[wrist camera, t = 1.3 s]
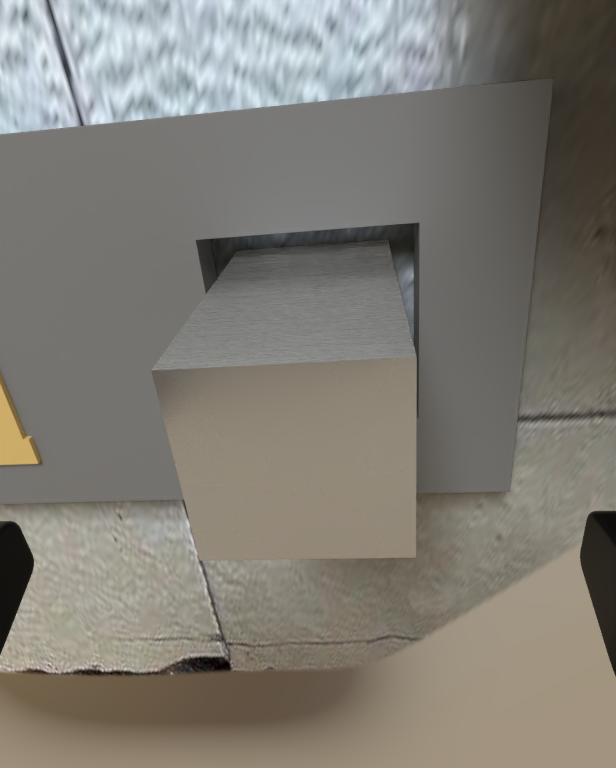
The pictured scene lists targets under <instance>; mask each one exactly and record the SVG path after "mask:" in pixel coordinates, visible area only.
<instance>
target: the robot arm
mask: <svg viewBox="0 0 616 768" xmlns="http://www.w3.org/2000/svg"><path fill="white" fill-rule="evenodd" d="M580 559H581V566H582V570H583V573H584V577H585V580H586V584H587V587H588V590H589V593H590V597H591V600H592V603H593V607H594V610H595V613H596V616H597V620H598V623H599V626H600V629H601V633H602V636H603V639H604V643H605V646H606V649H607V653H608V656H609V659H610V662H611V664H612V668H613V671H614V673H615V676H616V511H594V512H591V513H590V514H589V515H588V518H587V521H586V526H585V531H584V536H583V541H582V546H581V551H580ZM33 567H34V559H33V555H32V553H31V550H30V548H29V546H28V544H27V542H26V539H25V537H24V535H23V533H22V531H21V528H20V527H19V525H18V524H16V523H15V522H12V521H0V654H1V652H2V649H3V647H4V644H5V642H6V639H7V637H8V634H9V631H10V629H11V626H12V624H13V621H14V619H15V616H16V613H17V611H18V608H19V606H20V603H21V600H22V598H23V595H24V593H25V590H26V588H27V585H28V582H29V580H30V577H31V575H32V572H33Z"/></svg>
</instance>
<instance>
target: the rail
mask: <svg viewBox="0 0 616 768" xmlns="http://www.w3.org/2000/svg"><path fill="white" fill-rule="evenodd" d="M553 82H554V78H549V79H535V80H525V81H515V82H505V83H496V84H486V85H476V86H467V87H457V88H447V89H437V90H428V91H418V92H408V93H399V94H389V95H379V96H370V97H360V98H350V99H340V100H331V101H321V102H311V103H302V104H292V105H282V106H273V107H263V108H253V109H243V110H234V111H224V112H214V113H205V114H195V115H185V116H176V117H166V118H156V119H146V120H137V121H127V122H117V123H108V124H98V125H88V126H79V127H69V128H59V129H49V130H40V131H30V132H20V133H11V134H1V135H0V504H27V503H67V502H107V501H148V500H184V497H183V493H182V489H181V485H180V481H179V478H178V474H177V470H176V466H175V462H174V458H173V454H172V450H171V446H170V442H169V438H168V435H167V431H166V427H165V423H164V419H163V415H162V411H161V407H160V403H159V399H158V395H157V392H156V388H155V384H154V380H153V376H152V372H151V370H152V369H153V367H154V366H155V364H156V363H157V362H158V360H159V359H160V358H161V356H162V355H163V353H164V352H165V351H166V349H167V348H168V346H169V345H170V344H171V342H172V341H173V339H174V338H175V337H176V335H177V334H178V333H179V331H180V330H181V328H182V327H183V326H184V324H185V323H186V321H187V320H188V319H189V317H190V316H191V315H192V313H193V312H194V310H195V309H196V308H197V306H198V305H199V303H200V302H201V301H202V299H203V298H204V296H205V295H206V294H207V292H208V291H209V290H210V288H211V287H212V285H213V284H214V283H215V281H216V280H217V273H216V268H215V262H214V256H213V251H212V245H211V239H214V238H227V237H240V236H252V235H265V234H278V233H291V232H304V231H317V230H330V229H343V228H356V227H369V226H381V225H394V224H407V223H414V348H415V352H416V356H417V412H416V494H430V493H470V492H510V486H511V476H512V467H513V458H514V448H515V439H516V430H517V420H518V411H519V401H520V392H521V383H522V373H523V364H524V354H525V345H526V336H527V326H528V317H529V307H530V298H531V289H532V279H533V270H534V260H535V251H536V242H537V232H538V223H539V213H540V204H541V195H542V185H543V176H544V166H545V157H546V148H547V138H548V129H549V120H550V110H551V101H552V91H553Z"/></svg>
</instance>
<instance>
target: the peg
mask: <svg viewBox="0 0 616 768" xmlns="http://www.w3.org/2000/svg"><path fill="white" fill-rule="evenodd" d="M151 372H152V376H153V380H154V384H155V388H156V392H157V395H158V399H159V403H160V407H161V411H162V415H163V419H164V423H165V427H166V431H167V435H168V438H169V442H170V446H171V450H172V454H173V458H174V462H175V466H176V470H177V474H178V478H179V481H180V485H181V489H182V493H183V497H184V501H185V505H186V509H187V513H188V517H189V521H190V524H191V528H192V532H193V536H194V540H195V544H196V548H197V552H198V556H199V560H275V559H352V558H416V412H417V356H416V352H415V348H414V344H413V340H412V336H411V332H410V328H409V324H408V320H407V316H406V311H405V307H404V303H403V299H402V295H401V291H400V287H399V283H398V279H397V275H396V271H395V267H394V263H393V259H392V255H391V251H390V247H389V242H388V239H387V240H373V241H360V242H347V243H333V244H320V245H307V246H293V247H280V248H266V249H253V250H240V251H237V252H236V253H235V255H234V256H233V258H232V259H231V260H230V262H229V263H228V265H227V266H226V267H225V269H224V270H223V271H222V273H221V274H220V276H219V277H218V278H217V280H216V281H215V283H214V284H213V285H212V287H211V288H210V290H209V291H208V292H207V294H206V295H205V296H204V298H203V299H202V301H201V302H200V303H199V305H198V306H197V308H196V309H195V310H194V312H193V313H192V315H191V316H190V317H189V319H188V320H187V321H186V323H185V324H184V326H183V327H182V328H181V330H180V331H179V333H178V334H177V335H176V337H175V338H174V339H173V341H172V342H171V344H170V345H169V346H168V348H167V349H166V351H165V352H164V353H163V355H162V356H161V358H160V359H159V360H158V362H157V363H156V364H155V366H154V367H153V369H152V370H151Z"/></svg>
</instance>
